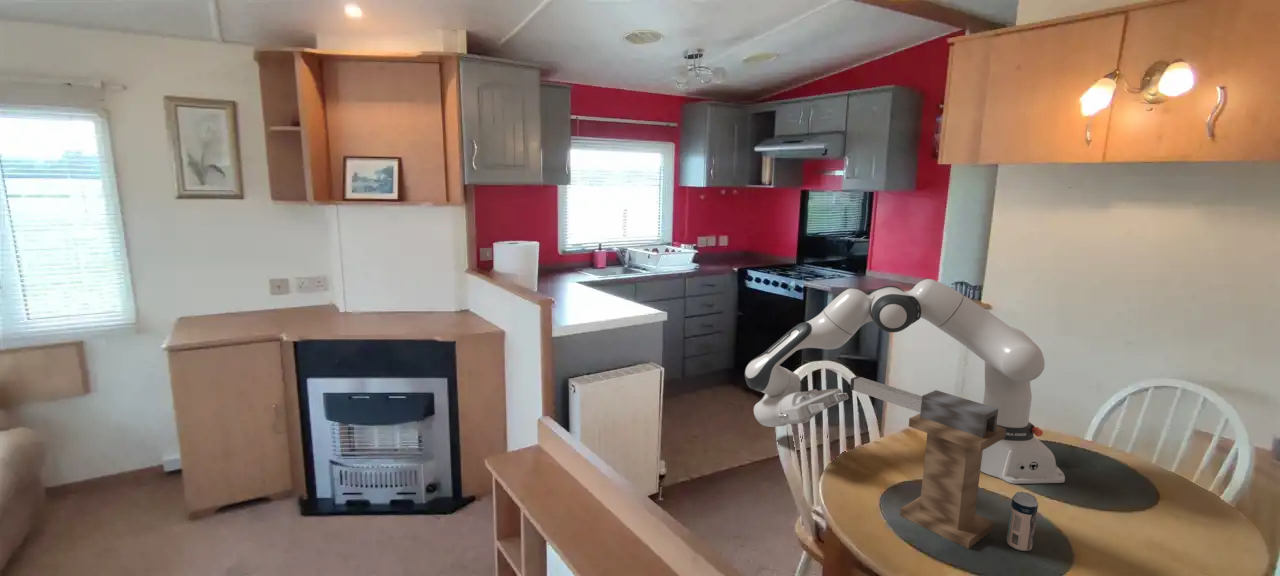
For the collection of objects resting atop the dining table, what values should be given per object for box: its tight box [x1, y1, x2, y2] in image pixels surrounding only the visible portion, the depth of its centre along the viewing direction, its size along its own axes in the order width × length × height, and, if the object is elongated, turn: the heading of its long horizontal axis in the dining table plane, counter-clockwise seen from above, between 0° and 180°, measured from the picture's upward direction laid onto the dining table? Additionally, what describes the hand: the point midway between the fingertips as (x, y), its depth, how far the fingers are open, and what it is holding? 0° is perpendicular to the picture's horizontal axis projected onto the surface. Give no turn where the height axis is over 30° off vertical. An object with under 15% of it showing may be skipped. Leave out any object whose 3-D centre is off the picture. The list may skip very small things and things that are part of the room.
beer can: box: [1006, 491, 1039, 552], centre depth 132 cm, size 5×5×12 cm
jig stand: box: [899, 389, 1006, 550], centre depth 139 cm, size 16×12×30 cm
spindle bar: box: [849, 375, 923, 414], centre depth 149 cm, size 22×3×3 cm, turn 36°
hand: (836, 400), depth 163 cm, fingers open, 8 cm apart
